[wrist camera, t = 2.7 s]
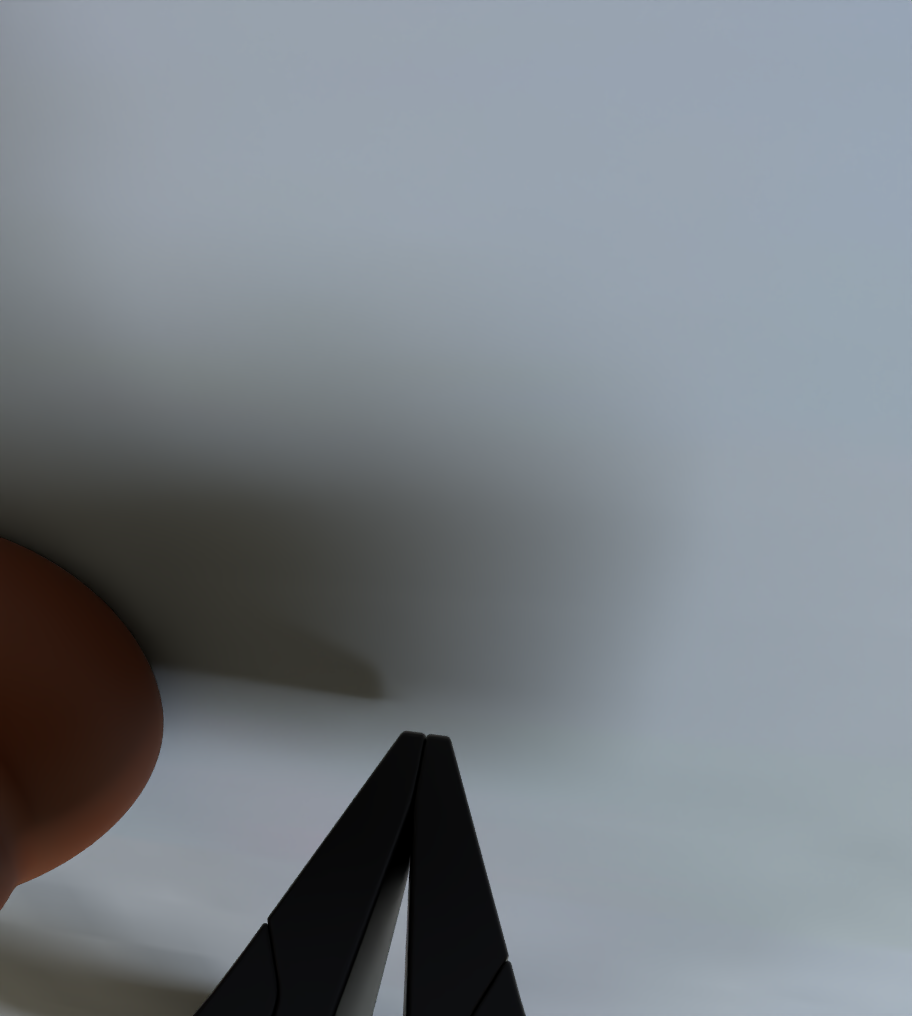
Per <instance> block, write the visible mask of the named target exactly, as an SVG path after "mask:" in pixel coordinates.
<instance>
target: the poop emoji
mask: <svg viewBox="0 0 912 1016" xmlns="http://www.w3.org/2000/svg"><path fill="white" fill-rule="evenodd" d="M162 737H163V709H162V702H161V697H160V693H159V689H158V686H157V683H156V680H155V677H154V674H153V672H152V669H151V667H150V665H149V663H148V661H147V659H146V657H145V655H144V653H143V651H142V650H141V648H140V646H139V645H138V643H137V641H136V640H135V638H134V637H133V635H132V634H131V633H130V631H129V630H128V629H127V627H126V626H125V625H124V623H123V622H122V621H121V620H120V619H119V617H118V616H117V615H116V614H115V613H114V612H113V611H112V610H111V609H110V607H109V606H108V605H107V604H106V603H105V602H104V601H103V600H102V599H101V598H99V597H98V596H97V595H96V594H95V593H94V592H93V591H92V590H90V589H89V588H88V587H87V586H86V585H85V584H83V583H82V582H81V581H79V580H78V579H77V578H75V577H74V576H73V575H71V574H70V573H68V572H67V571H65V570H64V569H62V568H61V567H59V566H58V565H56V564H54V563H53V562H51V561H49V560H48V559H46V558H44V557H42V556H41V555H39V554H37V553H35V552H33V551H31V550H29V549H27V548H25V547H23V546H21V545H18V544H16V543H14V542H11V541H9V540H7V539H4V538H1V537H0V910H1V909H2V907H3V906H4V904H5V903H6V901H7V900H8V898H9V896H10V895H11V893H12V891H13V890H14V888H15V887H16V886H18V885H20V884H22V883H25V882H27V881H29V880H32V879H34V878H36V877H38V876H40V875H42V874H44V873H46V872H48V871H50V870H52V869H54V868H56V867H58V866H60V865H61V864H63V863H65V862H66V861H68V860H70V859H71V858H73V857H74V856H76V855H78V854H79V853H80V852H82V851H83V850H85V849H86V848H88V847H89V846H90V845H92V844H93V843H94V842H95V841H97V840H98V839H99V838H100V837H102V836H103V835H104V834H105V833H106V832H107V831H108V830H109V829H110V828H111V827H113V826H114V825H115V824H116V823H117V822H118V821H119V820H120V819H121V817H122V816H123V815H124V814H125V813H126V812H127V811H128V809H129V808H130V807H131V806H132V805H133V803H134V802H135V801H136V799H137V798H138V796H139V795H140V793H141V792H142V790H143V789H144V787H145V785H146V784H147V782H148V780H149V778H150V776H151V774H152V772H153V770H154V767H155V765H156V762H157V759H158V756H159V753H160V748H161V744H162Z"/></svg>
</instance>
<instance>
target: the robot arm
mask: <svg viewBox="0 0 912 1016" xmlns="http://www.w3.org/2000/svg"><path fill="white" fill-rule="evenodd" d="M409 867H410V870H409ZM408 872H409V888H408V910H407V934H406V957H405V981H404V1005H403V1016H526V1015H525V1012H524V1008H523V1005H522V1002H521V998H520V995H519V991H518V987H517V984H516V980H515V976H514V972H513V969H512V965H511V963H510V962H509V961H508V957H509V955H508V951H507V947H506V944H505V940H504V936H503V933H502V929H501V925H500V921H499V918H498V914H497V910H496V906H495V903H494V899H493V895H492V891H491V888H490V884H489V880H488V876H487V873H486V869H485V865H484V862H483V858H482V854H481V850H480V847H479V843H478V839H477V835H476V832H475V828H474V824H473V820H472V817H471V813H470V809H469V806H468V802H467V798H466V794H465V791H464V787H463V783H462V779H461V776H460V772H459V768H458V764H457V761H456V757H455V753H454V749H453V746H452V742H451V740H450V738H449V737H448V736H442V735H434V734H429V735H428V736H427V737H426V736H425V734H423V733H419V732H412V731H404V732H402V733H401V734H400V736H399V737H398V738H397V740H396V741H395V743H394V744H393V745H392V747H391V748H390V749H389V751H388V752H387V754H386V755H385V756H384V758H383V759H382V760H381V762H380V763H379V765H378V766H377V767H376V769H375V770H374V772H373V773H372V774H371V776H370V777H369V778H368V780H367V781H366V783H365V784H364V785H363V787H362V788H361V790H360V791H359V792H358V794H357V795H356V796H355V798H354V799H353V801H352V802H351V803H350V805H349V806H348V807H347V809H346V810H345V812H344V813H343V814H342V816H341V817H340V819H339V820H338V821H337V823H336V824H335V825H334V827H333V828H332V830H331V831H330V832H329V834H328V835H327V837H326V838H325V839H324V841H323V842H322V843H321V845H320V846H319V848H318V849H317V850H316V852H315V853H314V854H313V856H312V857H311V859H310V860H309V861H308V863H307V864H306V866H305V867H304V868H303V870H302V871H301V872H300V874H299V875H298V877H297V878H296V879H295V881H294V882H293V884H292V885H291V886H290V888H289V889H288V890H287V892H286V893H285V895H284V896H283V897H282V899H281V900H280V901H279V903H278V904H277V906H276V907H275V908H274V910H273V911H272V913H271V914H270V915H269V917H268V919H267V921H268V924H267V923H264V924H263V925H262V926H261V927H260V929H259V930H258V931H257V933H256V934H255V936H254V937H253V938H252V940H251V941H250V943H249V944H248V945H247V947H246V948H245V949H244V951H243V952H242V953H241V955H240V956H239V957H238V959H237V960H236V961H235V963H234V964H233V965H232V967H231V968H230V969H229V971H228V972H227V973H226V974H225V976H224V977H223V978H222V980H221V981H220V982H219V984H218V985H217V986H216V988H215V989H214V990H213V992H212V993H211V994H210V995H209V996H208V998H207V999H206V1000H205V1001H204V1002H203V1004H202V1005H201V1006H200V1007H199V1009H198V1010H197V1011H196V1012H195V1013H194V1015H193V1016H372V1015H373V1011H374V1007H375V1003H376V999H377V995H378V991H379V988H380V984H381V980H382V976H383V972H384V968H385V964H386V960H387V956H388V953H389V949H390V945H391V941H392V937H393V933H394V929H395V925H396V921H397V917H398V914H399V910H400V906H401V902H402V898H403V894H404V890H405V886H406V881H407V877H408Z"/></svg>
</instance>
